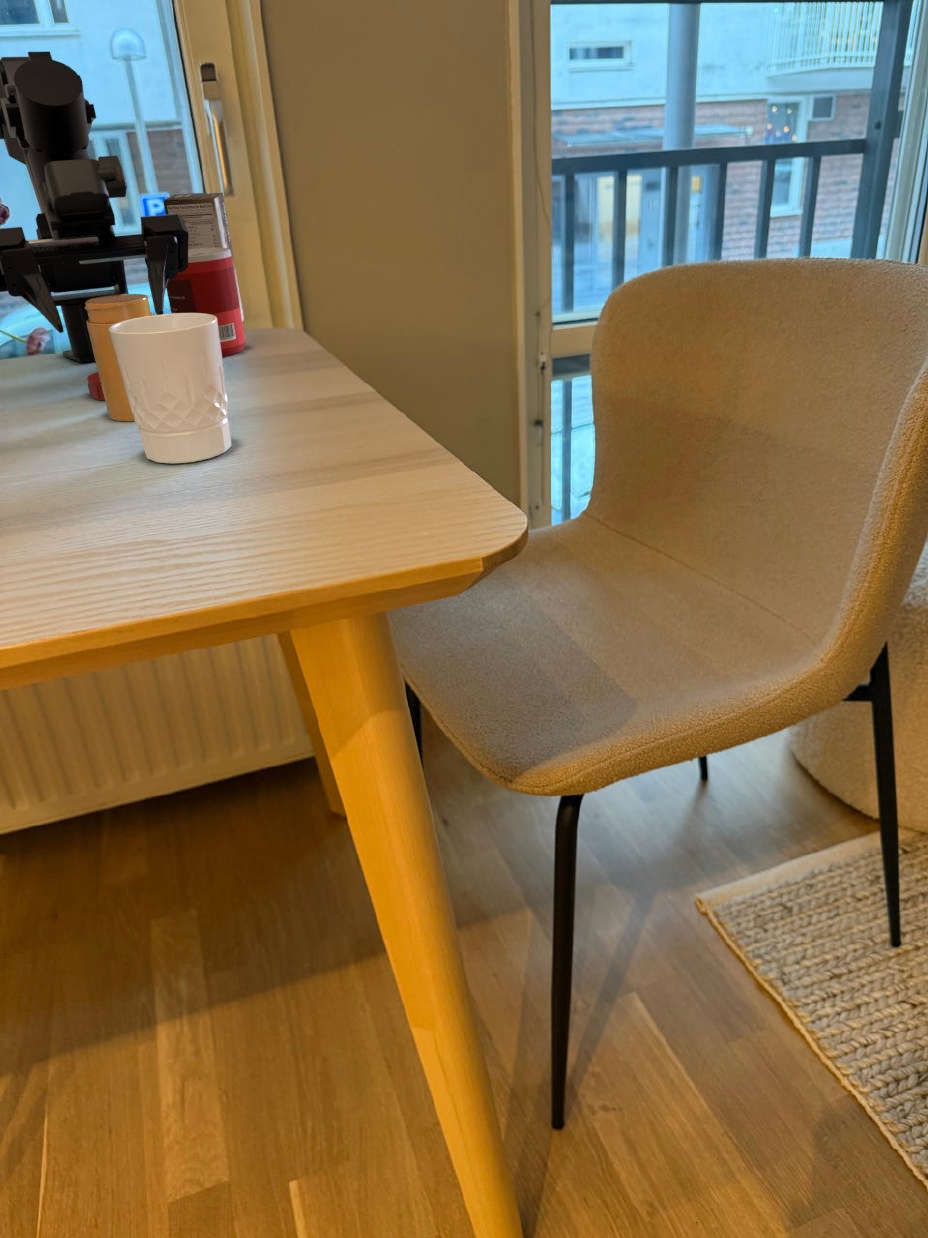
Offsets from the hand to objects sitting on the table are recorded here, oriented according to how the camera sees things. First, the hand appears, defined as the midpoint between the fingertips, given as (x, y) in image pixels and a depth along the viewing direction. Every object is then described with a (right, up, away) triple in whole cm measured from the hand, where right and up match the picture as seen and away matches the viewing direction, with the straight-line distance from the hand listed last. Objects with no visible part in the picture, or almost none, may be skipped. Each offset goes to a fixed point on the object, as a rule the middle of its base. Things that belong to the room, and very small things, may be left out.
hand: (112, 323), depth 85 cm
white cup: (+11, -15, -13) cm, 23 cm away
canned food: (+4, +3, +20) cm, 21 cm away
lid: (-1, -4, +4) cm, 6 cm away
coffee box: (+1, +10, +33) cm, 35 cm away
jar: (+4, -9, -2) cm, 10 cm away
